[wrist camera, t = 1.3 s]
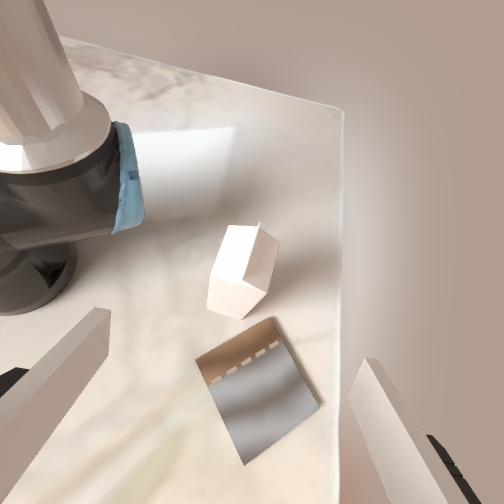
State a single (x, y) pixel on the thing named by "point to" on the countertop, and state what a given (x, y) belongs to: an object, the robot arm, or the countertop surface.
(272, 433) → the board
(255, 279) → the milk
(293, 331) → the countertop surface
